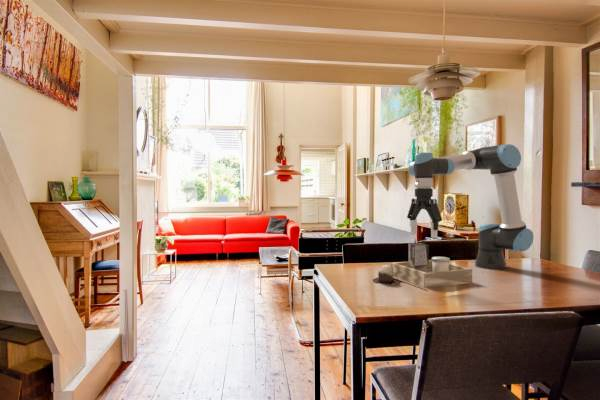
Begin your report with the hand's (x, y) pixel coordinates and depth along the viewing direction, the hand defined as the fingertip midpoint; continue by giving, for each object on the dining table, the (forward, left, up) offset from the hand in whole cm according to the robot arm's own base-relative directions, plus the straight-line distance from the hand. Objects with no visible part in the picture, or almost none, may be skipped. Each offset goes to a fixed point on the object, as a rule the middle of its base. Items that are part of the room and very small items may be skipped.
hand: (423, 236), depth 163 cm
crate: (-1, +4, -21) cm, 21 cm away
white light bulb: (-1, +10, -20) cm, 22 cm away
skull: (-7, -14, -21) cm, 27 cm away
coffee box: (-1, -2, -20) cm, 20 cm away
